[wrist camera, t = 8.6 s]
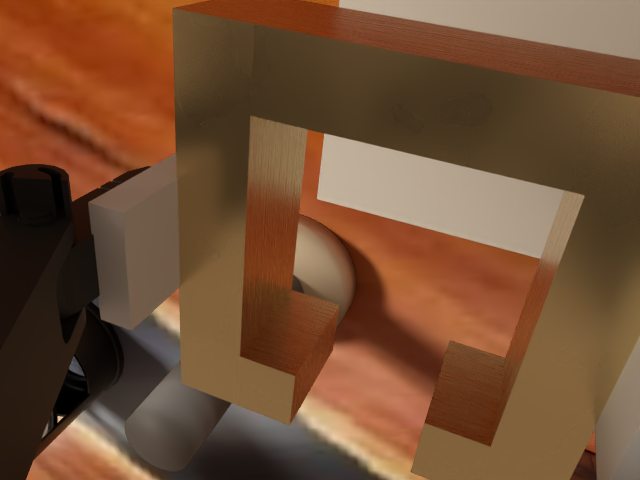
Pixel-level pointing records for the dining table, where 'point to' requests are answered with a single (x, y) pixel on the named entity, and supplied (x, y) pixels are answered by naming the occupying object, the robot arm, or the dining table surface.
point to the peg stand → (206, 410)
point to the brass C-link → (422, 140)
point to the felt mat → (458, 181)
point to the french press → (86, 374)
